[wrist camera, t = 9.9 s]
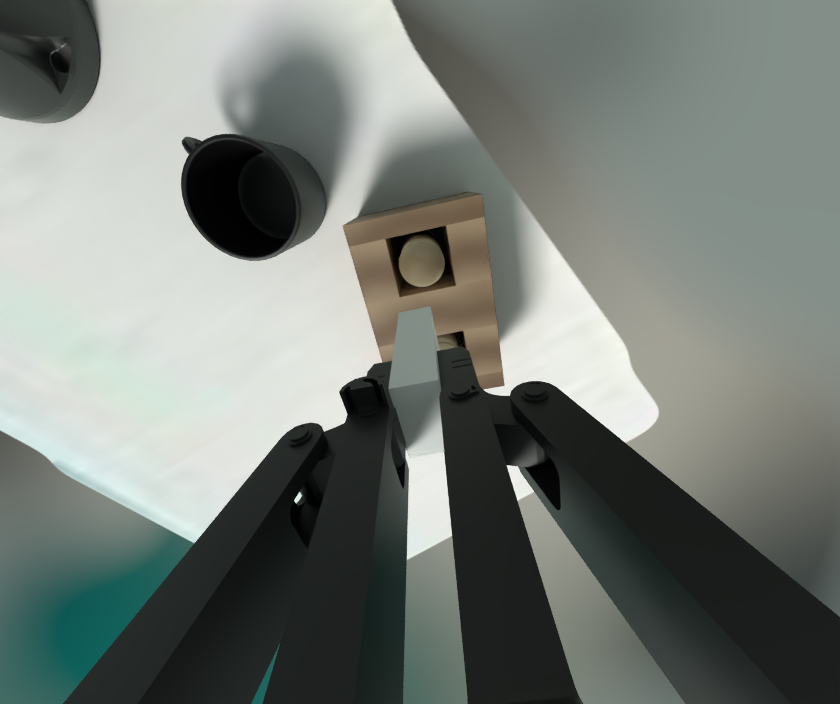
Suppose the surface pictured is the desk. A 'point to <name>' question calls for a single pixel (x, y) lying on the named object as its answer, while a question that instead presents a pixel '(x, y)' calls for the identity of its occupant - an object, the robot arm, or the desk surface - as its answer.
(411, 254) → the peg
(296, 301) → the desk surface
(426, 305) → the walnut block
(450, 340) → the peg
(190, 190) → the mug
